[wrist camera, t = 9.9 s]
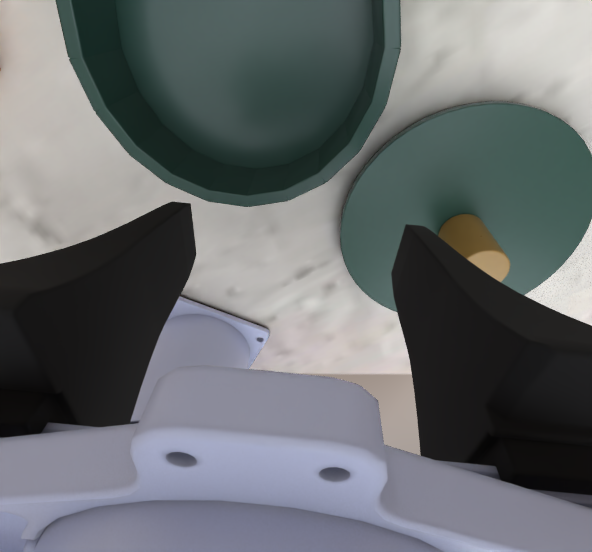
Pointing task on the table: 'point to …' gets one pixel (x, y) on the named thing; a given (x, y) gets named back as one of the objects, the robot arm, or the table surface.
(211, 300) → the table surface
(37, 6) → the table surface
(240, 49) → the tin
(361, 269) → the tin lid
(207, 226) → the table surface
